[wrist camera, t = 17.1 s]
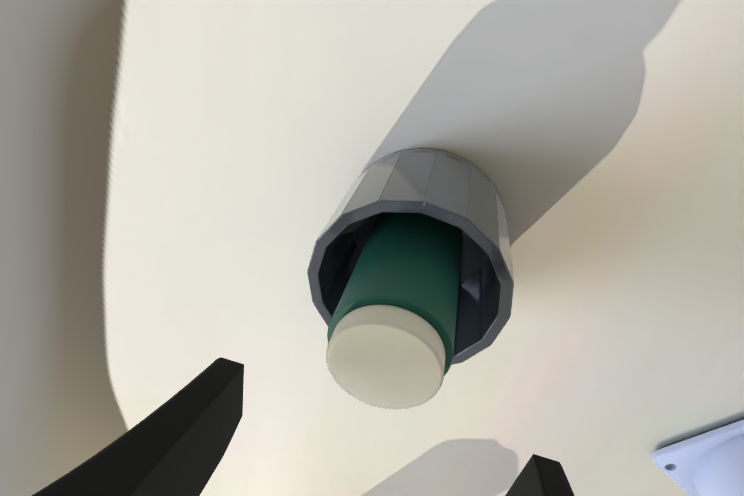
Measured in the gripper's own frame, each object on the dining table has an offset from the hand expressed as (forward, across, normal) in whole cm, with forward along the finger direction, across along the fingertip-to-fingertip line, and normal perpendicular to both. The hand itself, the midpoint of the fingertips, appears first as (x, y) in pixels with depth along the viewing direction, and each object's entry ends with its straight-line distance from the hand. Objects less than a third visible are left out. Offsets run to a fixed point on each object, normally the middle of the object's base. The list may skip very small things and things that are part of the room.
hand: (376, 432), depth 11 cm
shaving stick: (+9, 0, -1) cm, 9 cm away
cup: (+10, 0, -1) cm, 10 cm away
